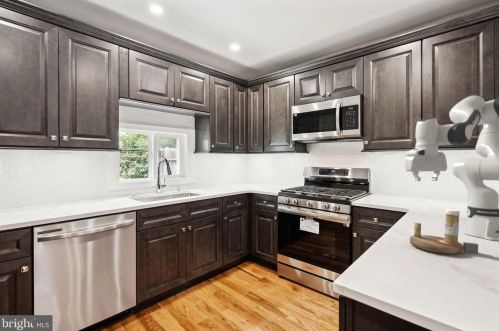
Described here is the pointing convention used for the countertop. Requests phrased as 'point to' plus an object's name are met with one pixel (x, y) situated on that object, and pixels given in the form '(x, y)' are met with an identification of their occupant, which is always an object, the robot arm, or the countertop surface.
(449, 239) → the sprinkles bottle
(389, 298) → the countertop surface
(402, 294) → the countertop surface
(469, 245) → the grey polygonal block
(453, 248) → the wooden peg stand
